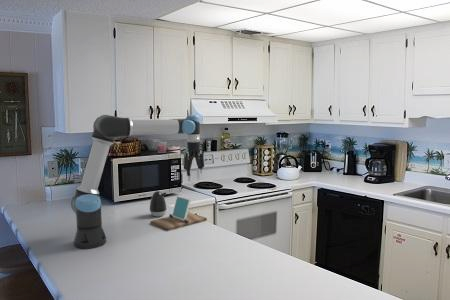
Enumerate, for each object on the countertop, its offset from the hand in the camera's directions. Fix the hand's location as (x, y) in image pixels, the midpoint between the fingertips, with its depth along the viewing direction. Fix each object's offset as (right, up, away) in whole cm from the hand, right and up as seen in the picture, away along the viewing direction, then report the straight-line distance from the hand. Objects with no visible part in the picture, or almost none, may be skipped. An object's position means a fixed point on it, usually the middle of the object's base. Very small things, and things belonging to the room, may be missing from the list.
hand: (194, 180), depth 234 cm
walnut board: (-9, -24, -5) cm, 26 cm away
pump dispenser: (-23, -23, +9) cm, 33 cm away
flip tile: (-7, -16, -4) cm, 18 cm away
